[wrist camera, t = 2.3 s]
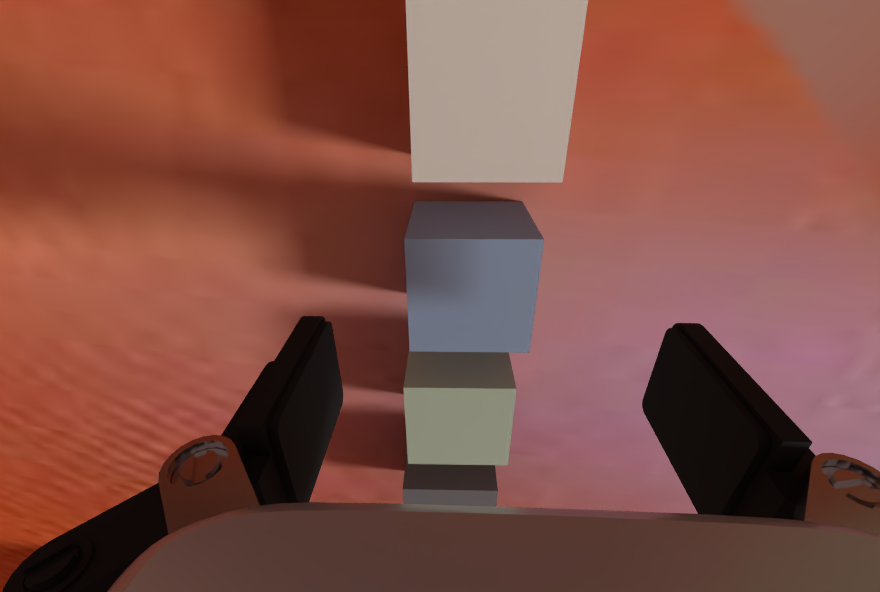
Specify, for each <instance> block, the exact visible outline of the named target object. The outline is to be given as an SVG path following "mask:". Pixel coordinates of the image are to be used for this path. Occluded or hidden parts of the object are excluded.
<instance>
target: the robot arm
mask: <svg viewBox="0 0 880 592" xmlns="http://www.w3.org/2000/svg"><path fill="white" fill-rule="evenodd" d="M342 402H343V389H342V383H341V377H340V371H339V365H338V359H337V353H336V347H335V341H334V335H333V329H332V324H331V322H326V321H325V318H324V317H322V316H303V317H301V319H300V320H299V322H298V323H297V325H296V327H295V328H294V330H293V332H292V333H291V335H290V336H289V338H288V340H287V341H286V343H285V344H284V346H283V348H282V349H281V351H280V353H279V354H278V356H277V357H276V359H275V361H271V362H269V363H268V364H267V365H266V366H265V368H264V369H263V371H262V372H261V374H260V375H259V377H258V379H257V380H256V382H255V383H254V385H253V386H252V388H251V389H250V391H249V393H248V394H247V396H246V397H245V399H244V400H243V402H242V404H241V405H240V407H239V408H238V410H237V411H236V413H235V415H234V416H233V418H232V419H231V421H230V422H229V424H228V426H227V427H226V429H225V430H224V432H223V433H222V435H221V436H220V435H210V436H203V437H200V438H198V439H195V440H192V441H190V442H188V443H186V444H185V445H183V446H181V447H180V448H178V449H177V450H176V451H175V452H173V453H172V454H171V455H170V456H169V457H168V459H167V460H166V461H165V462H164V463H163V465H162V467H161V470H160V472H159V480H158V482H159V483H157V484H155V485H154V486H152V487H150V488H148V489H146V490H144V491H142V492H141V493H139V494H137V495H135V496H133V497H131V498H129V499H128V500H126V501H124V502H122V503H120V504H118V505H116V506H114V507H113V508H111V509H109V510H107V511H105V512H103V513H101V514H100V515H98V516H96V517H94V518H92V519H90V520H88V521H87V522H85V523H83V524H81V525H79V526H77V527H75V528H73V529H72V530H70V531H68V532H66V533H64V534H62V535H60V536H59V537H57V538H55V539H53V540H51V541H50V542H48V543H47V544H45V545H43V546H42V547H40V548H39V549H37V550H36V551H35V552H34V553H33V554H31V555H30V556H29V557H28V558H27V559H25V560H24V561H23V562H22V563H21V564H20V566H19V567H18V568H17V569H16V570H15V571H14V572H13V574H12V575H11V576H10V578H9V580H8V581H7V583H6V585H5V587H4V588H3V592H880V472H879V471H878V470H876V469H875V468H873V467H871V466H869V465H867V464H865V463H863V462H861V461H859V460H857V459H854V458H851V457H848V456H845V455H841V454H835V453H821V454H819V455H817V456H815V455H814V453H813V452H812V451H811V450H810V449H809V447H810V445H811V444H812V441H811V440H810V439H809V438H808V437H807V436H806V435H805V434H804V433H803V432H802V431H801V430H800V429H799V428H798V426H797V425H796V424H795V423H794V422H793V421H792V420H791V419H790V418H789V417H788V416H787V415H786V414H785V413H784V412H783V411H782V409H781V408H780V407H779V406H778V405H777V404H776V403H775V402H774V401H773V400H772V399H771V398H770V397H769V396H768V395H767V393H766V392H765V391H764V390H763V389H762V388H761V387H760V386H759V385H758V384H757V383H756V382H755V381H754V380H753V379H752V378H751V376H750V375H749V374H748V373H747V372H746V371H745V370H744V369H743V368H742V367H741V366H740V365H739V364H738V363H737V362H736V361H735V359H734V358H733V357H732V356H731V355H730V354H729V353H728V352H727V351H726V350H725V349H724V348H723V347H722V346H721V345H720V343H719V342H718V341H717V340H716V339H715V338H714V337H713V336H712V335H711V334H710V333H709V332H708V331H707V330H706V329H705V328H704V326H702V325H701V324H698V323H677V324H675V325H674V326H673V327H672V328H669V329H668V330H667V331H666V333H665V336H664V339H663V342H662V345H661V347H660V350H659V353H658V356H657V359H656V362H655V365H654V368H653V371H652V374H651V377H650V380H649V383H648V386H647V389H646V392H645V395H644V398H643V402H642V406H643V411H644V413H645V415H646V417H647V419H648V421H649V423H650V425H651V427H652V428H653V430H654V432H655V434H656V436H657V438H658V440H659V442H660V443H661V445H662V447H663V449H664V451H665V453H666V455H667V456H668V458H669V460H670V462H671V464H672V466H673V468H674V469H675V471H676V473H677V475H678V477H679V479H680V481H681V483H682V484H683V486H684V488H685V490H686V492H687V494H688V496H689V497H690V499H691V501H692V503H693V505H694V507H695V509H696V511H697V512H698V514H683V513H658V512H633V511H608V510H580V509H552V508H522V507H492V506H460V505H425V504H391V503H326V502H309V500H310V497H311V494H312V491H313V489H314V486H315V483H316V480H317V477H318V474H319V471H320V468H321V465H322V462H323V459H324V456H325V453H326V450H327V447H328V444H329V441H330V439H331V436H332V433H333V430H334V427H335V424H336V421H337V418H338V415H339V412H340V409H341V406H342Z"/></svg>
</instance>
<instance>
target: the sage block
mask: <svg viewBox="0 0 880 592" xmlns="http://www.w3.org/2000/svg"><path fill="white" fill-rule="evenodd" d="M403 391H404V407H405V423H406V439H407V455H408V464H451V465H508V458H509V450H510V441H511V432H512V423H513V415H514V406H515V397H516V384H515V380H514V375H513V371H512V366H511V361H510V357H509V352H418V351H410V348H409V353H408V359H407V366H406V373H405V380H404V386H403Z"/></svg>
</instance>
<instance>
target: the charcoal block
mask: <svg viewBox="0 0 880 592" xmlns="http://www.w3.org/2000/svg"><path fill="white" fill-rule="evenodd" d="M497 493H498V489H497V480H496V472H495V465H451V464H408V455H407V456H406V465H405V474H404V483H403V499H404V504H425V505H460V506H492V507H496V503H497Z"/></svg>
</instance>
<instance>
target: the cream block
mask: <svg viewBox="0 0 880 592" xmlns="http://www.w3.org/2000/svg"><path fill="white" fill-rule="evenodd" d="M587 5H588V0H406V25H407V52H408V79H409V107H410V134H411V161H412V182H563V175H564V168H565V161H566V154H567V147H568V140H569V132H570V125H571V118H572V111H573V104H574V97H575V90H576V83H577V76H578V69H579V61H580V54H581V47H582V40H583V33H584V26H585V19H586V12H587Z"/></svg>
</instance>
